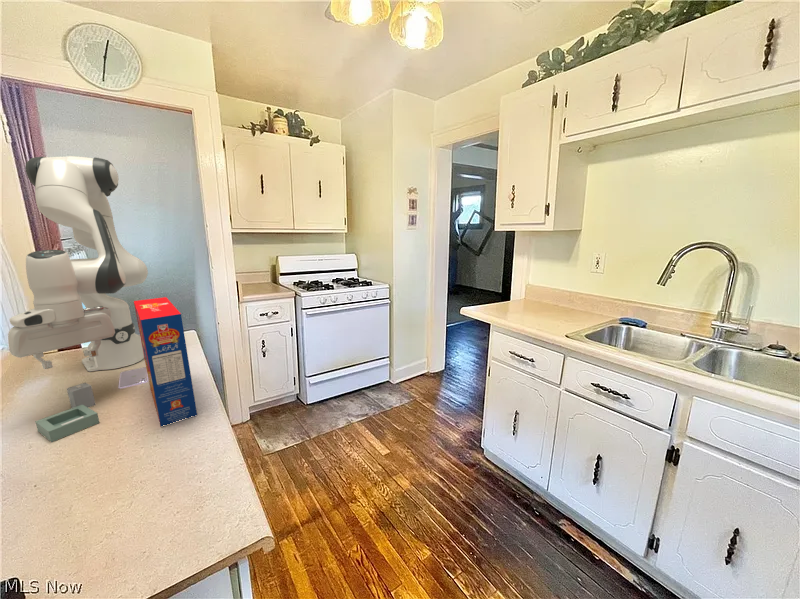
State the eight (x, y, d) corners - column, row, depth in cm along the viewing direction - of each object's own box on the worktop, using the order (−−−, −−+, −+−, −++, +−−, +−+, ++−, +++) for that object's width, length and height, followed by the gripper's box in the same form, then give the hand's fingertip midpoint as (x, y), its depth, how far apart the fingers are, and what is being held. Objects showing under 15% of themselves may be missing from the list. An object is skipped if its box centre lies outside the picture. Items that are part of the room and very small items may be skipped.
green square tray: (37, 431, 83) (35, 420, 82) (84, 413, 90) (82, 404, 90) (51, 442, 78) (48, 431, 78) (99, 422, 86) (97, 412, 85)
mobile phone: (147, 365, 120) (148, 380, 109) (147, 368, 120) (148, 383, 109) (119, 371, 116) (117, 387, 104) (120, 374, 116) (118, 390, 104)
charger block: (71, 408, 94) (66, 387, 92) (89, 401, 97) (85, 381, 96) (77, 411, 92) (72, 390, 90) (95, 404, 95) (91, 384, 94)
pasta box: (150, 388, 105) (133, 301, 99) (180, 380, 110) (166, 297, 104) (160, 427, 84) (140, 320, 78) (197, 415, 89) (180, 313, 83)
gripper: (104, 303, 99) (113, 348, 101) (-1, 320, 81) (14, 373, 84) (114, 305, 96) (123, 351, 98) (7, 322, 78) (22, 378, 81)
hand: (72, 361), depth 91 cm, fingers open, 8 cm apart
